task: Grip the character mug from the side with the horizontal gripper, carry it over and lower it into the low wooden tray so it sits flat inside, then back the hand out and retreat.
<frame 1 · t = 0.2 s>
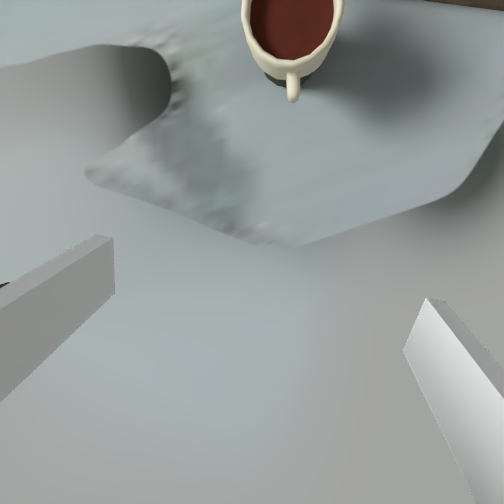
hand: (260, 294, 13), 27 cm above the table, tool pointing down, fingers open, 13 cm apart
character mug: (289, 56, 33), on the table
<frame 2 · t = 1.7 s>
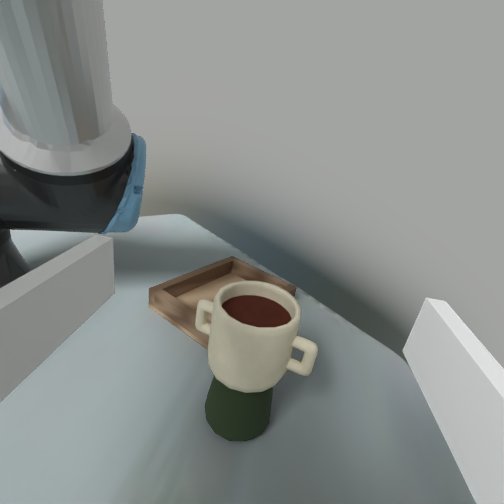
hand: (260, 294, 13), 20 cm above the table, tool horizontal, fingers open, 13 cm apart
wooden tray: (225, 304, 46), on the table
character mug: (236, 415, 30), on the table
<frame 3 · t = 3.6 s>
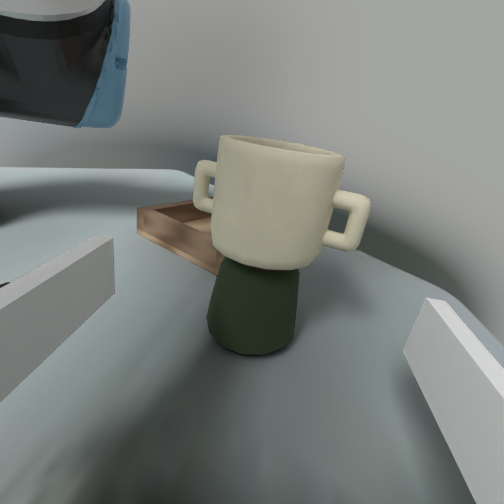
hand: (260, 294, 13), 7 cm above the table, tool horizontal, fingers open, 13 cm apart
wooden tray: (229, 236, 39), on the table
character mug: (248, 333, 22), on the table
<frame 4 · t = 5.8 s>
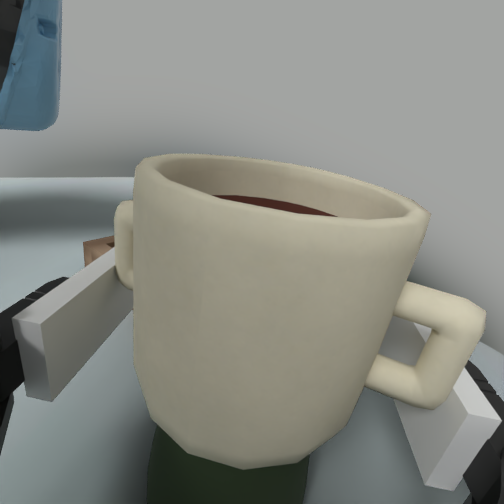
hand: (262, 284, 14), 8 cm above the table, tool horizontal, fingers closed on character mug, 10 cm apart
wooden tray: (213, 274, 30), on the table
character mug: (223, 488, 13), on the table, touching gripper
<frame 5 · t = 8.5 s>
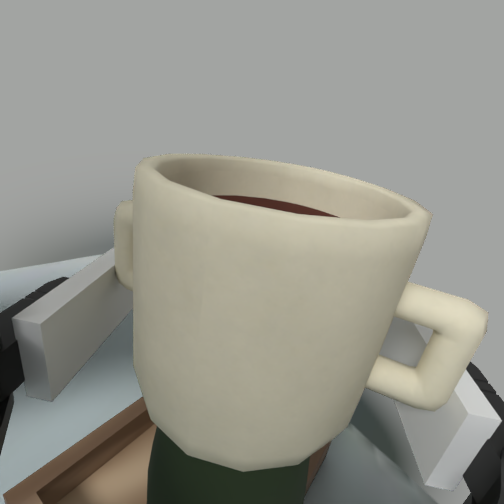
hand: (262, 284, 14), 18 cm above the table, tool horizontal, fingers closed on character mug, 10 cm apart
wooden tray: (192, 485, 22), on the table
character mug: (223, 489, 13), point 10 cm above the table, touching gripper
when the fingers open (9 cm above the table, at t = 11.1 s): character mug drops 1 cm, resting on wooden tray.
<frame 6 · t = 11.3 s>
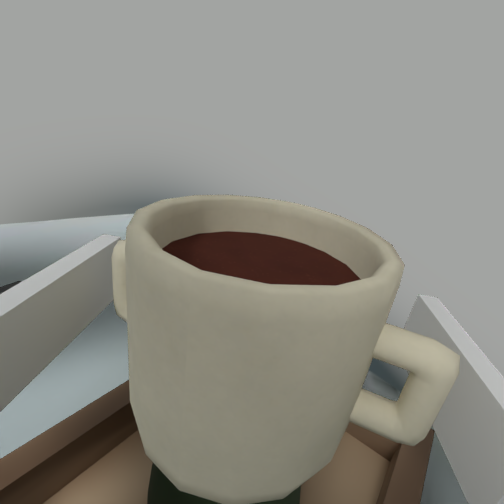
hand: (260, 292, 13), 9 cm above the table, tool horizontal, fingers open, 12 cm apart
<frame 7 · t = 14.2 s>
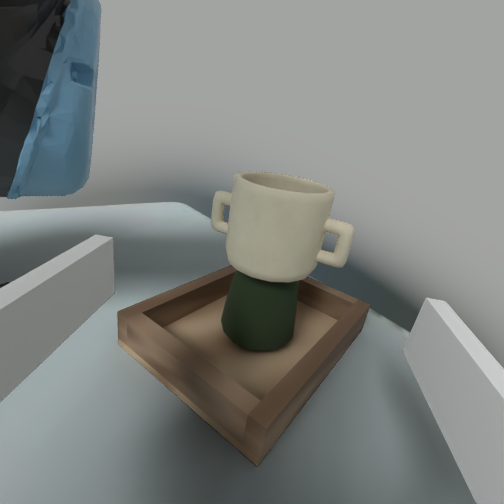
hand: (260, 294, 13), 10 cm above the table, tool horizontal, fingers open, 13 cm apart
wooden tray: (254, 336, 27), on the table
character mug: (256, 333, 27), resting on wooden tray
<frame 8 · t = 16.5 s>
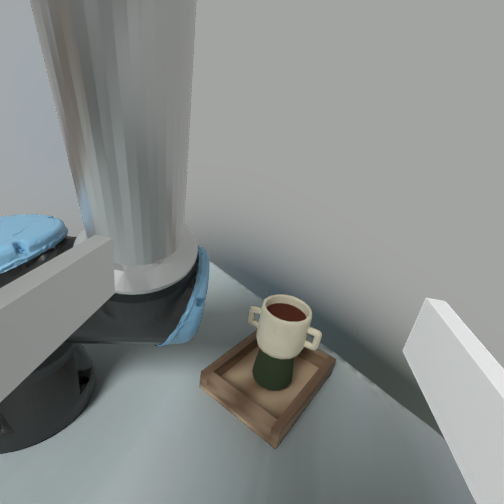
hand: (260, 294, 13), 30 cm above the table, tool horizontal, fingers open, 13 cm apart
wooden tray: (270, 379, 48), on the table
character mug: (270, 378, 48), resting on wooden tray
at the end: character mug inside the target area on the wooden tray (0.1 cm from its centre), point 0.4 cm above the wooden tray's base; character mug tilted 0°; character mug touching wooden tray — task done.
